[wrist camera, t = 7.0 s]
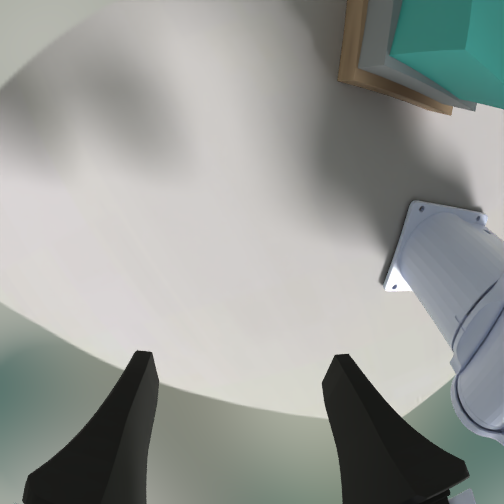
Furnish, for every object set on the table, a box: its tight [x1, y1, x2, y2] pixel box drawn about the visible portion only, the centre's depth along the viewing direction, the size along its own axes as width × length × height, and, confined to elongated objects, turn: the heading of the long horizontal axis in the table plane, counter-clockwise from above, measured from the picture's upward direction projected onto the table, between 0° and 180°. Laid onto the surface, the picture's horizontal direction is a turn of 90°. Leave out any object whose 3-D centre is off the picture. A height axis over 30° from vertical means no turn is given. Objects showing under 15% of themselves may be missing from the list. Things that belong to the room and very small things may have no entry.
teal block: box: [389, 0, 504, 109], centre depth 6 cm, size 4×4×5 cm
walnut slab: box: [337, 0, 453, 116], centre depth 12 cm, size 7×7×3 cm
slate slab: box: [358, 0, 477, 111], centre depth 10 cm, size 6×6×3 cm
